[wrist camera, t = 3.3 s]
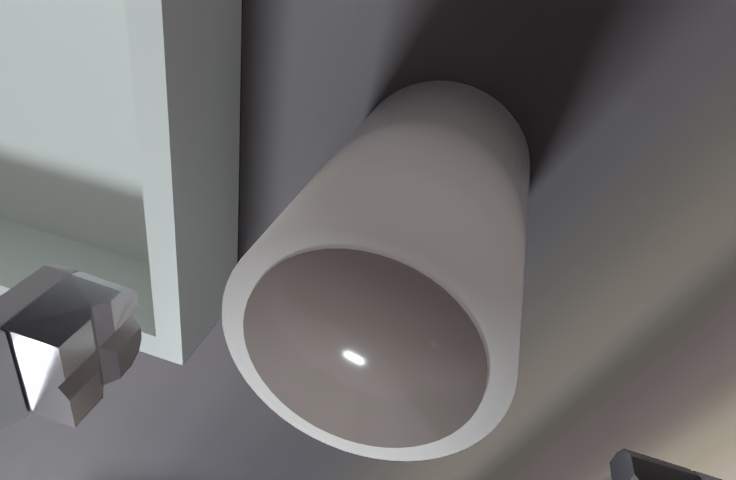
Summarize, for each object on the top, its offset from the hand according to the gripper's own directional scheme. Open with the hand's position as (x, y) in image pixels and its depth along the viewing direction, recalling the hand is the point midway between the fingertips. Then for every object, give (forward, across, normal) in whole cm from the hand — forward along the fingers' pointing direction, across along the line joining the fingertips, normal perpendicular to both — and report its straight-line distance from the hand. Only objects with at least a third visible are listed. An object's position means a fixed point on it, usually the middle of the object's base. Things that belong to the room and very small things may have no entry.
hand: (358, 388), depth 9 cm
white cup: (+10, 0, 0) cm, 10 cm away
